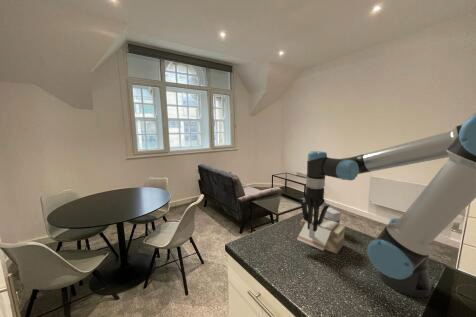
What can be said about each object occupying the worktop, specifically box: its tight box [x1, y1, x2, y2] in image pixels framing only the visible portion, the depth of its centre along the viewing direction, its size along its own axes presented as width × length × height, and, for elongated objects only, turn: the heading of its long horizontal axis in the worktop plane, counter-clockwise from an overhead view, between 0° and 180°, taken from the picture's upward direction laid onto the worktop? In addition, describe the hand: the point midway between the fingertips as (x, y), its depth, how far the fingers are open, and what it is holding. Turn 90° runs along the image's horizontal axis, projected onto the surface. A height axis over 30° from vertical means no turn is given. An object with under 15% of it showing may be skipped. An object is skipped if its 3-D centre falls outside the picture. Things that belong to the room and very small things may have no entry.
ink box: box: [324, 206, 341, 224], centre depth 110 cm, size 8×5×12 cm, turn 17°
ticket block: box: [299, 215, 346, 255], centre depth 98 cm, size 18×10×11 cm, turn 46°
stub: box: [296, 223, 331, 251], centre depth 90 cm, size 12×10×1 cm
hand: (311, 236), depth 89 cm, fingers closed
